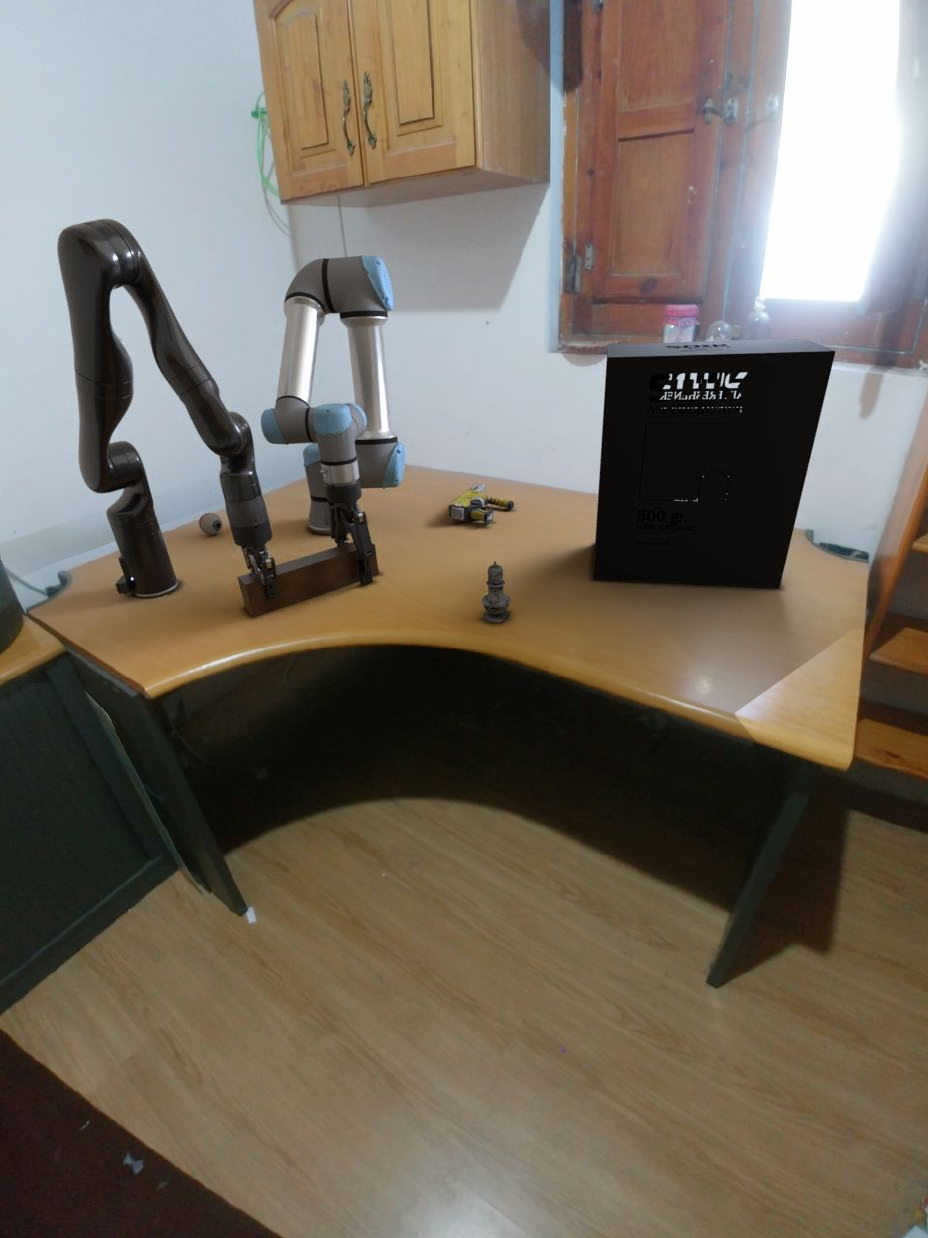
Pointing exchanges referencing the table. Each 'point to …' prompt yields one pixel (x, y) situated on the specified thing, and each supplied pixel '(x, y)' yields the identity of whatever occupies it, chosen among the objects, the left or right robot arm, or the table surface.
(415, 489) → the table surface
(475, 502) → the toy gun
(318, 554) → the plank
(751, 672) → the table surface
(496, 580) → the grey tall turned piece
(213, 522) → the eyeball
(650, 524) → the cardboard box
